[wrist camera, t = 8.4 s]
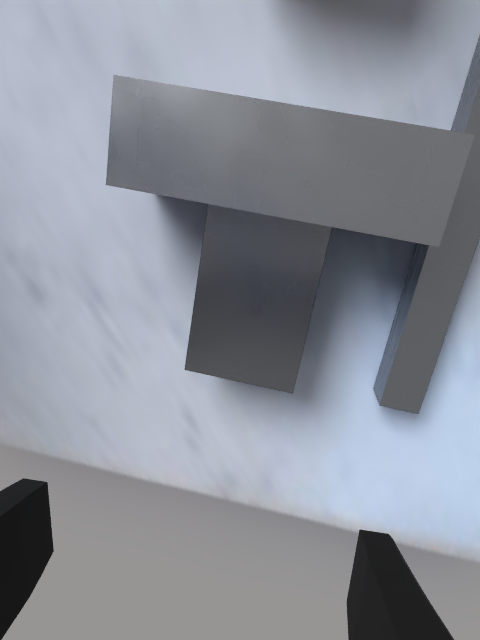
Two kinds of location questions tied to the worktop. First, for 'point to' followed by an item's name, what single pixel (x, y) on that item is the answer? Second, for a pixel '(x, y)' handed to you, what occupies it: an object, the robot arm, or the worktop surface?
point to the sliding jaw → (275, 205)
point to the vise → (435, 276)
